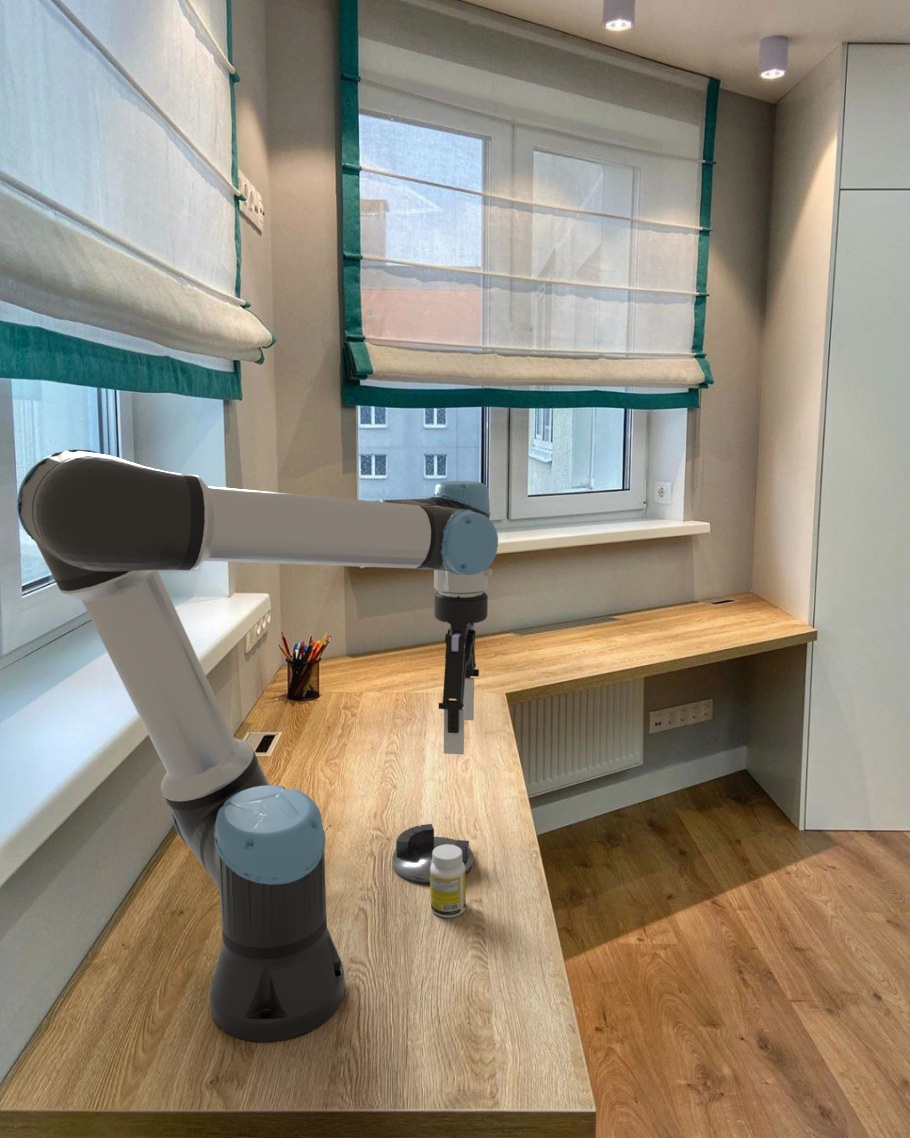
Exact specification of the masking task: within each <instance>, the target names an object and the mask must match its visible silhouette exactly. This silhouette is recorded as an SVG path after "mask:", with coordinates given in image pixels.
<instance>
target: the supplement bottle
mask: <svg viewBox="0 0 910 1138" xmlns="http://www.w3.org/2000/svg"><path fill="white" fill-rule="evenodd" d="M432 861H433V863H432V864H431V867H430V886H429V887H430V909H431V912H432V913H433V914H434V915H436V916H437V917H441V918H444V919H445V918H446V919H450V918H451V919H452V918H456V917H459V916H460V915H462V914H463V913H464V912H465V911H466V907H467V898H466V897H467V895H466V894H467V893H466V891H467V890H466V887H467V886H466V875H465V865H464V863H463V862H462V850H461V849H460V848H459V847H458V846H455V845H450V844H446V845H440V846H438V847H436V848H435V849H434V850H433V853H432Z"/></svg>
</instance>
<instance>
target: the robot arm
mask: <svg viewBox="0 0 910 1138" xmlns="http://www.w3.org/2000/svg"><path fill="white" fill-rule="evenodd" d="M22 479H23V480H22V481H21V483H20V486H19V490H18V494H17V507H16V509H17V516H18V519H19V522H20V524H21V526H22V528H23V531H25V533H26V534H27V536H29V537H30V539H32V540H33V541H34V542H35V544H36V546H37V547H38V548H37V549H39V551H40V554H41V556H42V558H43V561H45V563H46V566H47V568H48V570H49V572H50V573H51V576H52V578H53V579H54V581H55V583H56V585H57V586H58V589H59V591H60V592H61V593H62V594H65V595H68V596H71V597H75V598H76V599H79V600H81V601H82V603H83V606H84V608H85V610H86V611H87V614H88V615H89V618H90V619H91V620H90V621H92V623H93V624H92V625H94V627H95V629H96V632H97V634H98V636H99V638H100V640H101V642H102V644H103V646H104V648H105V650H106V652H107V655H108V656H109V658H110V660H111V662H112V664H113V666H114V668H115V670H116V672H117V674H118V676H119V678H120V680H121V682H122V684H123V686H124V688H125V691H126V693H127V694H128V696H129V698H130V700H131V702H132V705H133V706H134V709H135V710H136V713H137V714H138V716H139V718H140V720H141V722H142V724H143V727H144V728H145V730H146V732H147V734H148V737H149V739H150V740H151V742H152V745H153V747H154V749H155V750H156V752H157V755H158V757H159V759H160V760H161V762H162V765H163V766H164V768H165V769H164V770H165V771H166V773H165V775H164V777H163V780H162V781H161V784H160V791H161V793H162V796H163V798H164V799H165V801H166V804H167V805H168V807H169V809H170V811H171V818H172V821H173V826H174V828H175V831H176V832H177V834H178V835H179V837H180V839H181V840H182V841H183V843H184V844H185V845H186V846H187V847H188V848H189V849H190V850H191V852H192V853H193V854H194V856H195V857H196V858H197V860H198V861H199V863H200V864H201V866H203V868H204V869H205V871H206V873H207V874H208V875H209V876H210V878H211V880H212V881H213V882H214V883H215V885H216V886H217V890H218V893H219V906H220V919H221V922H220V923H221V932H222V942H221V948H220V952H219V953H218V958H217V962H216V965H215V968H214V969H215V970H214V974H213V976H212V979H211V981H210V986H209V987H210V988H209V997H210V998H209V999H210V1000H209V1001H210V1011H211V1016H212V1018H213V1021H214V1022H215V1023H216V1025H217V1026H218V1027H219V1028H220V1029H221V1030H223V1031H224V1032H225V1033H227V1034H229V1035H230V1036H233V1037H235V1038H238V1039H241V1040H245V1041H250V1042H251V1041H252V1042H263V1043H264V1042H277V1041H283V1040H284V1041H285V1040H289V1039H291V1038H295V1037H298V1036H301V1035H304V1034H306V1033H308V1032H310V1031H313V1030H315V1029H316V1028H318V1027H319V1026H321V1025H322V1024H324V1023H325V1022H327V1020H329V1019H330V1018H331V1017H333V1015H334V1014H335V1013H336V1011H338V1008H339V1007H340V1006H341V1003H342V1002H343V999H344V996H345V985H346V984H345V971H344V966H343V962H342V960H341V957H340V955H339V953H338V951H337V948H336V945H335V943H334V940H333V939H332V936H331V933H330V930H329V928H328V921H327V920H328V919H327V890H326V889H327V888H326V887H327V885H326V884H327V883H326V861H325V860H326V855H325V854H326V853H325V848H326V833H325V830H324V825H323V819H322V818H323V817H322V814H321V810H320V808H319V806H318V805H317V803H316V802H315V801H314V799H313V798H312V797H310V796H309V795H307V794H306V793H304V792H303V791H301V790H298V789H295V788H293V787H292V788H289V789H286V787H285V786H283V785H270V783H269V781H268V779H267V777H266V775H265V772H264V770H263V768H262V766H261V764H260V762H259V758H258V756H257V755H256V752H255V751H254V748H253V747H252V745H251V743H250V742H248V741H246V740H244V739H240V738H235V737H234V735H233V733H232V731H231V728H230V726H229V724H228V722H227V719H226V718H225V715H224V713H223V711H222V709H221V707H220V704H219V702H218V699H217V698H216V696H215V693H214V691H213V688H212V686H211V684H210V682H209V680H208V678H207V675H206V673H205V671H204V669H203V667H202V665H201V662H200V661H199V658H198V656H197V654H196V651H195V649H194V647H193V645H192V643H191V641H190V638H189V636H188V634H187V631H186V629H185V627H184V626H183V623H182V621H181V619H180V616H179V614H178V612H177V610H176V608H175V604H173V601H172V599H171V597H170V595H169V592H168V589H167V588H166V585H165V584H164V581H163V579H162V576H161V575H160V572H159V571H194V570H195V569H196V568H197V567H199V565H201V564H202V563H203V562H223V563H224V562H225V563H249V564H251V563H254V564H280V565H281V564H282V565H283V564H285V565H306V566H307V565H310V566H311V565H312V566H332V567H333V566H337V567H338V566H339V567H360V568H361V567H363V568H364V567H365V568H366V567H368V568H388V569H389V568H394V569H395V568H396V569H414V570H426V571H427V570H430V571H433V587H434V589H435V591H436V593H435V594H434V602H433V603H434V606H433V607H434V609H433V610H434V611H433V612H434V613H433V614H434V617H435V619H436V620H438V621H439V622H442V623H448V624H449V625H450V628H448V629H447V632H446V633H445V635H444V642H445V654H444V655H445V657H444V658H445V660H444V661H445V663H444V677H443V692H442V702H438V710H443V754H446V755H461V756H462V755H464V753H465V721H474V719H475V714H474V713H475V678H476V677H479V676H480V669H476V667H477V663H476V653H475V649H476V635H477V633H476V630H475V628H474V627H475V624H477V623H482V622H483V621H486V619H487V617H488V610H489V609H488V606H489V605H488V603H489V601H488V600H489V599H488V598H489V597H488V594H487V593H486V592H485V591H487V589H488V583H489V581H488V578H489V577H491V576H493V570H492V569H491V568H489V566H491V564H492V563H493V562H494V559H495V558H496V556H497V553H498V547H499V537H498V536H499V535H498V532H497V528H496V526H495V524H494V523H493V522H492V520H490V517H491V512H490V494H489V489H488V487H487V485H486V484H484V483H483V482H479V481H472V480H471V481H469V480H455V481H454V480H448V481H440V482H438V483H436V484H435V487H434V493H433V496H431V497H426V498H407V499H405V498H403V499H384V498H381V499H378V500H365V499H364V500H363V499H354V498H353V499H351V498H342V497H331V496H318V495H307V494H297V493H286V492H285V493H284V492H276V491H274V492H273V491H262V490H252V489H240V488H233V487H232V488H230V487H219V486H218V487H217V486H210V485H207V484H206V483H205V482H204V481H203V479H202V478H201V477H200V476H199V475H197V474H188V473H179V472H173V471H172V472H171V471H165V470H161V469H156V468H152V467H148V466H144V465H141V464H138V463H135V462H131V461H128V460H126V459H122V458H120V457H117V456H112V455H108V454H104V453H103V454H102V453H100V452H97V451H94V450H91V449H83V448H72V449H71V448H70V449H67V450H63V451H60V452H54V453H52V454H51V455H48V456H46V457H44V458H43V459H41V460H39V461H38V462H37V463H35V464H34V465H33V466H32V467H31V468H30V469H29V471H28V472H27V473H26V475H25V476H24V478H22ZM474 677H475V678H474Z"/></svg>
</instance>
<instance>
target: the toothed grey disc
mask: <svg viewBox="0 0 910 1138" xmlns="http://www.w3.org/2000/svg"><path fill="white" fill-rule="evenodd" d="M395 843H396V846H395V847H396V848H395V850H394V852H393V854H392V858H391V859H392V869H393V871H394V873H395V874H397V876H398V877H400V878H401V879H403V880H405V881H407V882H411V883H414V884H418V885H428V886H429V885H430V867H431V864H432V863H433V861H432V853H433V850H434V849H435V848H436V847H438V846H440V845H446V844H450V845H455V846H458V847H459V848H460V849H461V850H462V862H463V863H464V865H465V876H467V875H468V873H470V872H471V870H472V869H473V866H474V854H473V851H472V849H471V848H470V841H469V840H463V839H453V838H449V837H442V836H435V827H434V826H433V824H432V823H427V824H426V823H425V824H420V825H416V826H412V827H409V828H408V829H405V830H404V831H403V832H401V833H400V834H399V835H398V837H397V839H396V841H395Z"/></svg>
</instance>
